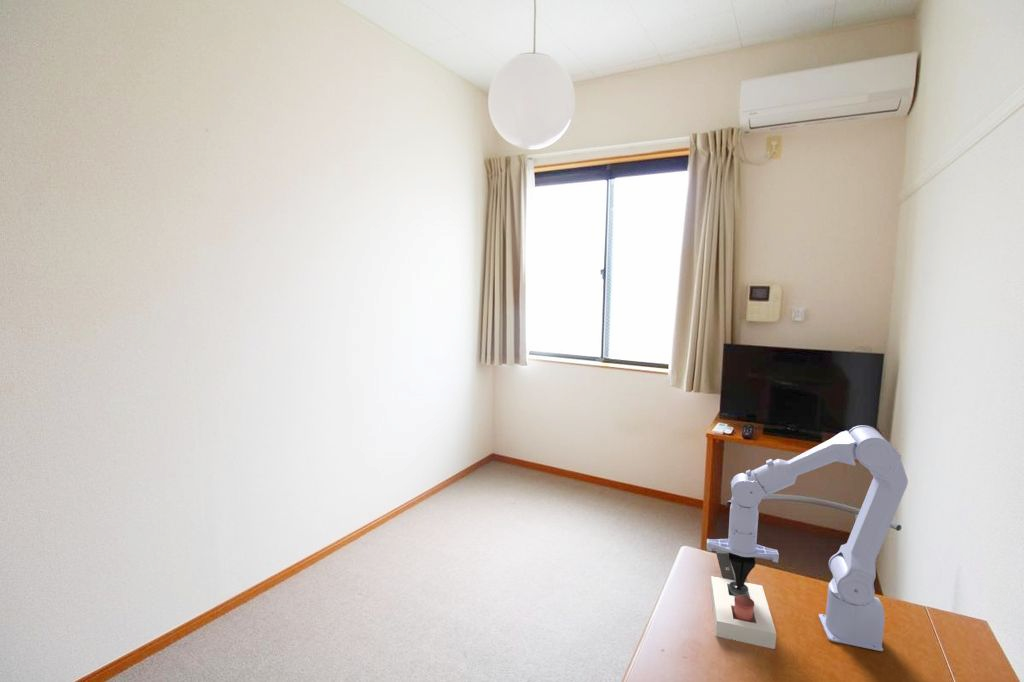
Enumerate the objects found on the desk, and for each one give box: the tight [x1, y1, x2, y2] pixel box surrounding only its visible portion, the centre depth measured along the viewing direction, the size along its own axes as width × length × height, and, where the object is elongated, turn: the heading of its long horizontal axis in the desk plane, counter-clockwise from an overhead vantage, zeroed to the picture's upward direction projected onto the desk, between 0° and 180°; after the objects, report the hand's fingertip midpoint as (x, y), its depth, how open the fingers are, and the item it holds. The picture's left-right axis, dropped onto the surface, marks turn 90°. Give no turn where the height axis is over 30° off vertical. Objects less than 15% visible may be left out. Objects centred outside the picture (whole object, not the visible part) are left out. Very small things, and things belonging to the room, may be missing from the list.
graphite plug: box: [729, 582, 748, 597], centre depth 109 cm, size 4×4×4 cm
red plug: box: [734, 595, 754, 623], centre depth 101 cm, size 4×4×4 cm
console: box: [709, 575, 777, 650], centre depth 105 cm, size 11×16×4 cm
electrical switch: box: [715, 537, 735, 580], centre depth 120 cm, size 9×5×9 cm, turn 152°
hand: (739, 584), depth 109 cm, fingers closed
